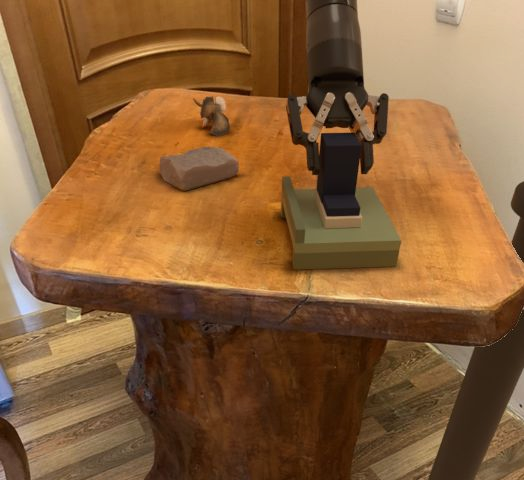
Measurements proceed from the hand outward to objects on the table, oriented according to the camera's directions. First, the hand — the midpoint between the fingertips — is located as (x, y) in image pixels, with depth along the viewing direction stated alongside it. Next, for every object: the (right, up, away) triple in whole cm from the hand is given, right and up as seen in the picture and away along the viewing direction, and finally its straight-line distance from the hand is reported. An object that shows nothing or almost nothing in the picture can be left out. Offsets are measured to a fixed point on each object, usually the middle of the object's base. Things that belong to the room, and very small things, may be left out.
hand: (340, 172), depth 74 cm
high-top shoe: (0, -5, +3) cm, 6 cm away
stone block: (-22, +6, +22) cm, 32 cm away
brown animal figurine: (-21, +22, +39) cm, 50 cm away
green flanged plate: (0, -8, +6) cm, 10 cm away
